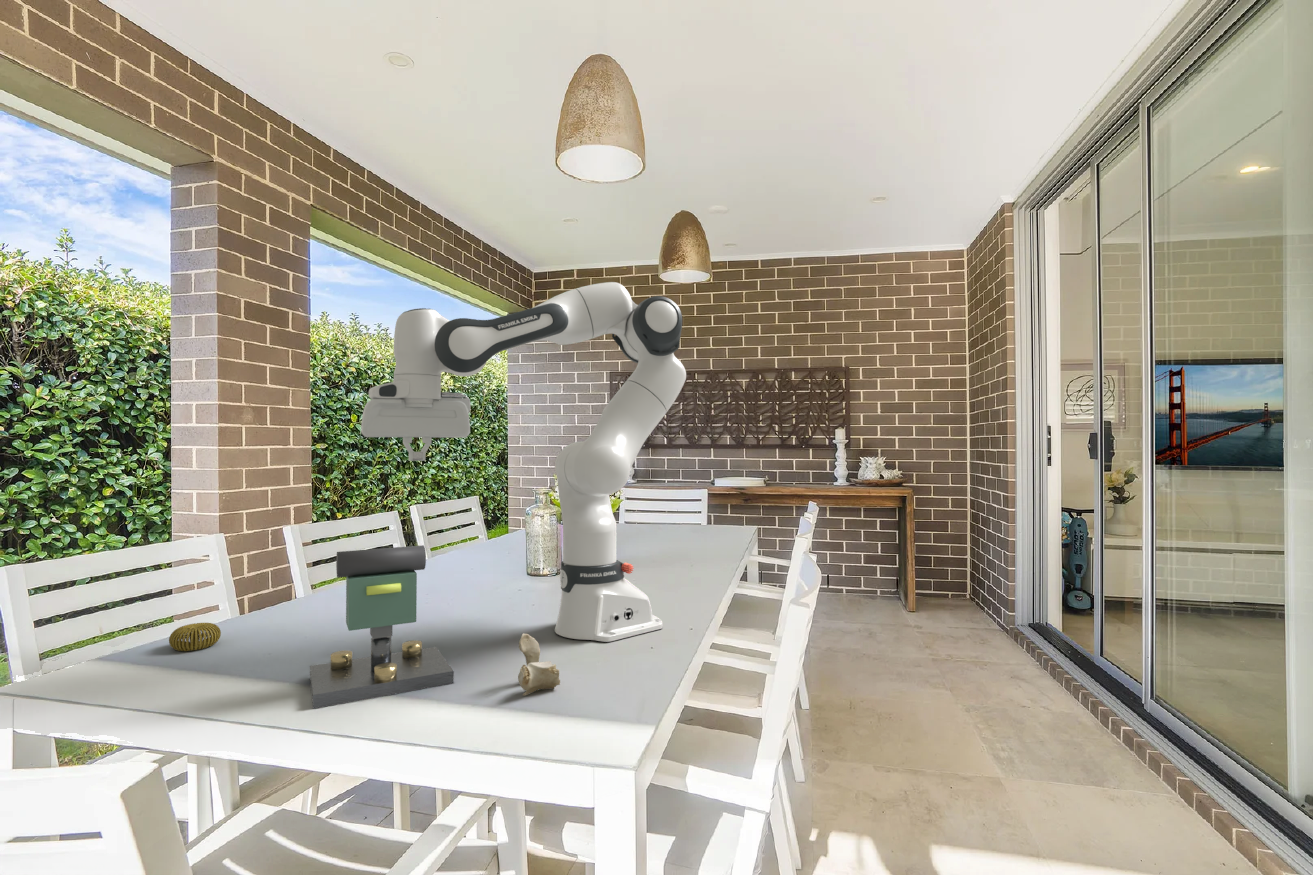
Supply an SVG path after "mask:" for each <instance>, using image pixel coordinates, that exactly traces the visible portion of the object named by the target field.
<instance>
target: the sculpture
mask: <svg viewBox="0 0 1313 875" xmlns="http://www.w3.org/2000/svg"><path fill="white" fill-rule="evenodd" d="M221 635H222V632H221V628H220V627H219V626H218V625H217V624H215V623H212V622H197V623H196V622H195V623H189V624H185V625H183V626H179V627H177V628H176V629H175V630H173V631H172V632H171V634H170V636H169V638H168V641H169V642H168V643H169V646H170V647H171V648H172V649H173V650H175V651H178V652H193V651H197V650H204V649H207V648H209V646H210V647H212V646H214V645H215V644H217V642H218V641H219V640H220V638H221ZM203 648H204V649H203Z"/></svg>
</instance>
